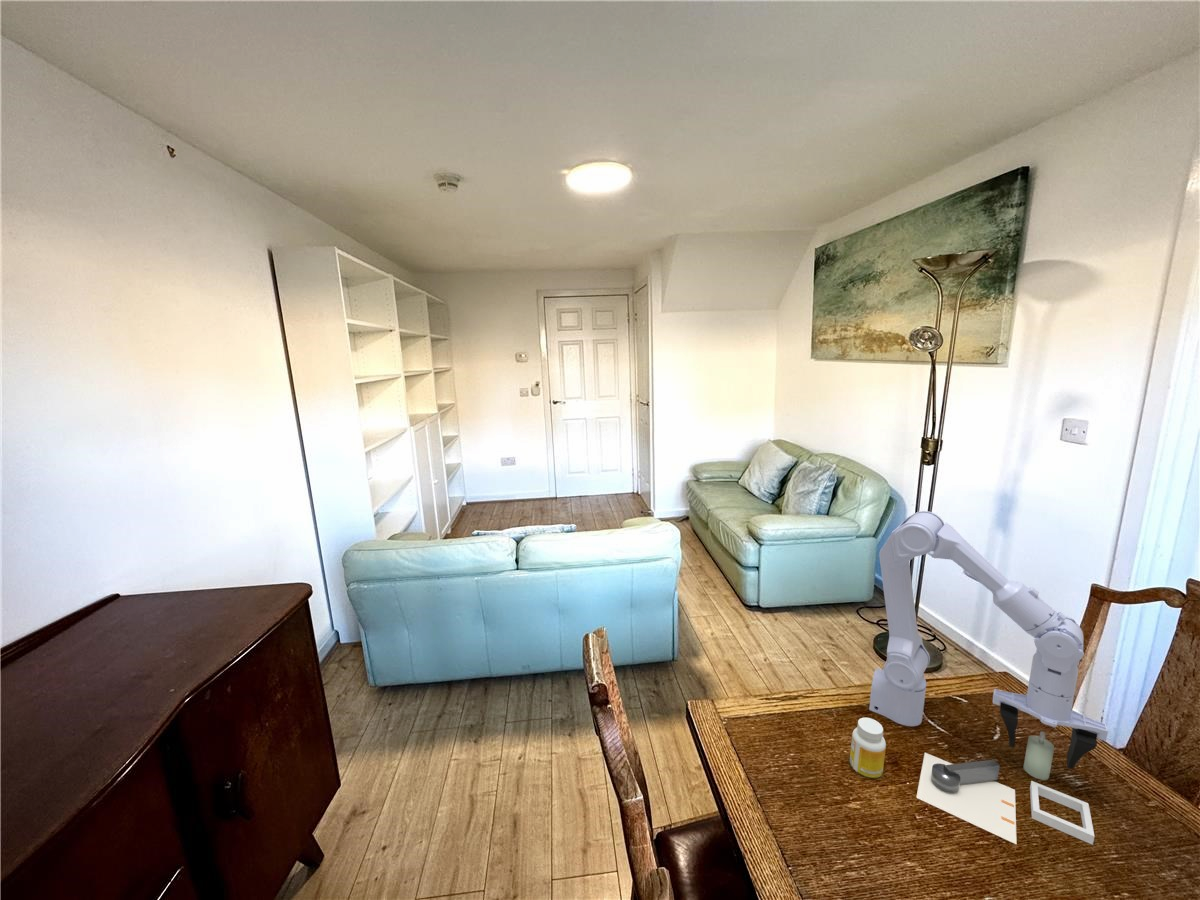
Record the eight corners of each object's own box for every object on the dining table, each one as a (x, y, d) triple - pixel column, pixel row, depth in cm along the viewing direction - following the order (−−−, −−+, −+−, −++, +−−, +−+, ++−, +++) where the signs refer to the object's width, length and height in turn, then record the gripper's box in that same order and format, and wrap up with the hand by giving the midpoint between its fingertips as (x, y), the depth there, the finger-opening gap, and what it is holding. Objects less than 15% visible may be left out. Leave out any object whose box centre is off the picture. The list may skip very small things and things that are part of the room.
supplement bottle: (842, 763, 90) (846, 718, 89) (864, 755, 92) (868, 711, 90) (867, 787, 85) (871, 740, 84) (889, 777, 87) (894, 731, 85)
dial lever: (943, 794, 82) (945, 779, 82) (925, 774, 86) (927, 759, 86) (1004, 786, 83) (1007, 772, 83) (984, 767, 87) (986, 753, 87)
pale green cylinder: (1023, 777, 87) (1030, 734, 85) (1022, 765, 89) (1029, 722, 87) (1048, 788, 84) (1056, 743, 83) (1047, 775, 87) (1055, 731, 85)
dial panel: (915, 802, 82) (916, 796, 82) (924, 756, 91) (924, 751, 91) (1015, 849, 74) (1016, 843, 74) (1014, 794, 83) (1015, 789, 83)
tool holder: (1030, 823, 78) (1033, 810, 78) (1029, 792, 84) (1031, 780, 83) (1091, 849, 74) (1094, 836, 73) (1085, 816, 79) (1088, 803, 79)
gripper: (996, 681, 85) (987, 748, 87) (1116, 718, 76) (1101, 791, 78) (997, 661, 90) (988, 725, 93) (1108, 693, 81) (1095, 763, 84)
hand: (1039, 754), depth 86 cm, fingers open, 7 cm apart
